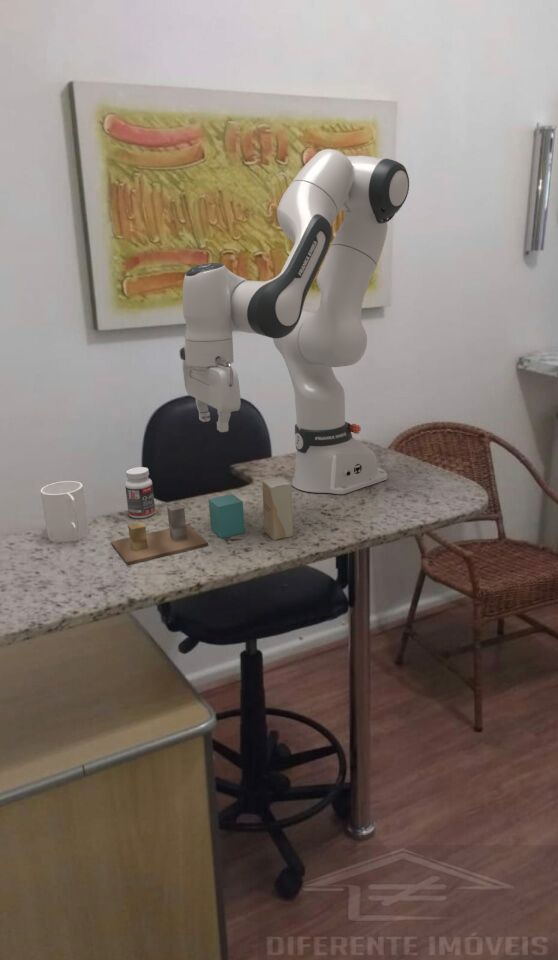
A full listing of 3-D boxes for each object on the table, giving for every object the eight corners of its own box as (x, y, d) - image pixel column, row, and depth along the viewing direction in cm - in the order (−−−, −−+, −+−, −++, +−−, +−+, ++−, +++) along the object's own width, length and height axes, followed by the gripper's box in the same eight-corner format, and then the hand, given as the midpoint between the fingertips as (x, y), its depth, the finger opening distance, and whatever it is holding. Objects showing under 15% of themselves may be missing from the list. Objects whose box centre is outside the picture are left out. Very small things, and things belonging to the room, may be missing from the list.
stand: (188, 526, 153) (185, 494, 151) (208, 545, 144) (205, 511, 141) (111, 544, 146) (107, 511, 144) (127, 565, 137) (122, 530, 135)
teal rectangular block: (234, 524, 153) (232, 493, 151) (244, 532, 149) (242, 501, 147) (211, 529, 151) (208, 499, 149) (220, 538, 147) (218, 506, 145)
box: (263, 531, 149) (260, 479, 145) (283, 527, 150) (281, 475, 147) (274, 540, 144) (271, 487, 141) (294, 536, 146) (292, 483, 142)
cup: (60, 551, 144) (52, 503, 141) (43, 532, 154) (35, 486, 151) (101, 541, 148) (94, 493, 145) (81, 523, 158) (75, 478, 155)
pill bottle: (149, 519, 158) (144, 475, 155) (124, 518, 159) (119, 474, 156) (159, 509, 163) (154, 466, 160) (134, 508, 164) (129, 465, 161)
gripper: (247, 359, 132) (250, 435, 137) (206, 346, 150) (209, 413, 154) (214, 363, 130) (218, 440, 134) (176, 349, 147) (180, 417, 151)
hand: (213, 425), depth 144 cm, fingers open, 8 cm apart
